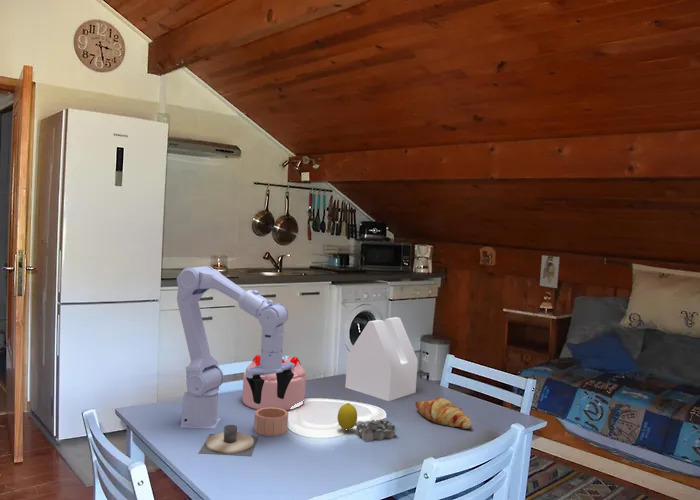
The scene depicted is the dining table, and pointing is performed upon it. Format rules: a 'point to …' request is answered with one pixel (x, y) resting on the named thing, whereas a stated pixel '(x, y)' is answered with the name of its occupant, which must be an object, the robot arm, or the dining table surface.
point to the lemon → (347, 416)
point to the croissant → (443, 413)
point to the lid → (229, 441)
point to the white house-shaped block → (382, 361)
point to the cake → (269, 390)
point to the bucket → (271, 421)
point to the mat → (246, 453)
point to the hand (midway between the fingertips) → (268, 400)
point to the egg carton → (375, 429)
